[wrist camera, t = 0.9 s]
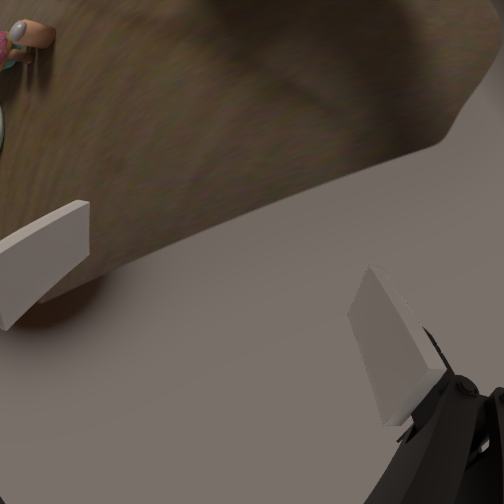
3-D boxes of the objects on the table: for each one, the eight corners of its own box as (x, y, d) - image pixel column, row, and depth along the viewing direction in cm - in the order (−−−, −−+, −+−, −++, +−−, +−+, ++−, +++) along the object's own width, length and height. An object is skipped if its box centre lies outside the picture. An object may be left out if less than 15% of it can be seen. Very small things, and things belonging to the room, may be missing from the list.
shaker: (40, 32, 28) (9, 24, 20) (57, 24, 27) (26, 14, 20) (37, 52, 29) (5, 46, 22) (54, 44, 29) (22, 37, 22)
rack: (-7, 52, 28) (-25, 51, 23) (39, 25, 27) (21, 20, 22) (-11, 84, 30) (-29, 84, 26) (34, 60, 30) (15, 58, 25)
